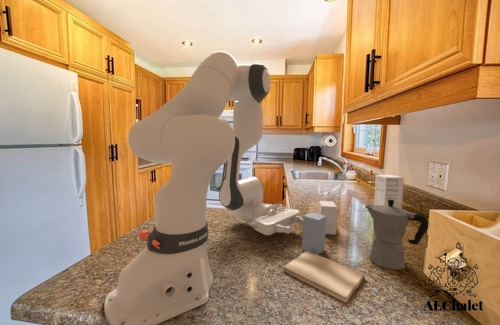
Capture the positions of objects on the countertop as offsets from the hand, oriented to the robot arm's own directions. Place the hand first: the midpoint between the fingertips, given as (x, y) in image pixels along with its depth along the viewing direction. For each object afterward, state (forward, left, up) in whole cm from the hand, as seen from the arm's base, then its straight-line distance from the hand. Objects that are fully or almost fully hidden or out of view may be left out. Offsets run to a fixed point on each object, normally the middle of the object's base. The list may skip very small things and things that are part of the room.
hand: (298, 226), depth 72 cm
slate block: (0, -6, -6) cm, 8 cm away
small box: (+18, -2, -6) cm, 19 cm away
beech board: (-10, -14, -6) cm, 18 cm away
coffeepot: (+9, -25, -6) cm, 27 cm away
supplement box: (+70, -11, -6) cm, 71 cm away
